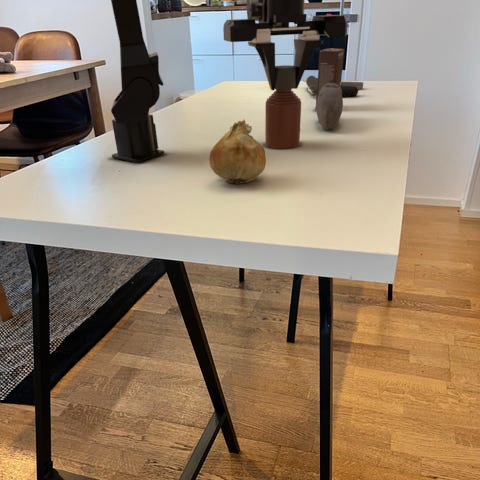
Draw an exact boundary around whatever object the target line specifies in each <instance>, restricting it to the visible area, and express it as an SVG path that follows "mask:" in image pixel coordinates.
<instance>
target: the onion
mask: <svg viewBox="0 0 480 480" xmlns="http://www.w3.org/2000/svg"><path fill="white" fill-rule="evenodd" d="M249 125H250V124H249V123H246V119H245V118H244V119H243V120H238V121H237V122H234V123H233V125H232V126H230V127H229V131H227V132H225V134H224V135H223V136H222V137H221V138H220V139H219V140H218V141H217V142H216V143H215V144H214V146H213V147H212V149H211V150H210V152H209V155H208V163H209V167H210V169H211V171H213V173H214V174H215V175H216V176H217V177H219V178H220V179H223V180H225V181H226V182H227V183H232V184H233V185H235V184H240V185H241V184H245V183H249V182H251V181H254V180H255V179H256V178H257V177H260V175H261V174H262V173H263V172H264V170H265V168H266V165H267V153H266V150H265V148H264V146H263V145H262V144H261V143H260V142H259V141H258V140H256V138H255V139H254V137H253V136H252V135H250V134H251V132H252V130H253V126H252V125H250V126H249Z"/></svg>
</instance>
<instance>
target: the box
mask: <svg viewBox="0 0 480 480" xmlns="http://www.w3.org/2000/svg"><path fill="white" fill-rule="evenodd" d="M318 57H319V59H318V69H317V70H318V71H317V78H318V82H317V95H315V104H316V103H317V98H318V95H319V92H320V90H321V89H322V87H323V86H324V85H326V84H327V83H336V84H338V85H339V86H340V88H341V82H342V75H343V67H344V57H345V49H344V48H324V49H321V50H320V51H319V56H318ZM315 111H316V107H315Z"/></svg>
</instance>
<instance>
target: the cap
mask: <svg viewBox="0 0 480 480" xmlns="http://www.w3.org/2000/svg"><path fill="white" fill-rule="evenodd" d="M294 88H296V66H294V65H287V64H285V65H275V87H274V90H276V89H280V90H285V89H292V90H295V89H294Z"/></svg>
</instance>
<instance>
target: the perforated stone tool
mask: <svg viewBox="0 0 480 480" xmlns="http://www.w3.org/2000/svg"><path fill="white" fill-rule="evenodd" d="M343 101H344V99H343V96H342V90H341V88H340V86H339V85H338V84H336V83H327V84H326V85H324V86H323V87H322V89H321V90H320V92H319V95H318V98H317V103H316V102H315V108H316V110H315V111H316V115H317V116H316V117H317V120H318V122H319V124H320V126H321V127H322V128H323V129H325V130H332V129H333V128H335V127H336V126H337V125H338V123H339V122H340V118H341V116H342V113H343V107H344V102H343Z"/></svg>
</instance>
